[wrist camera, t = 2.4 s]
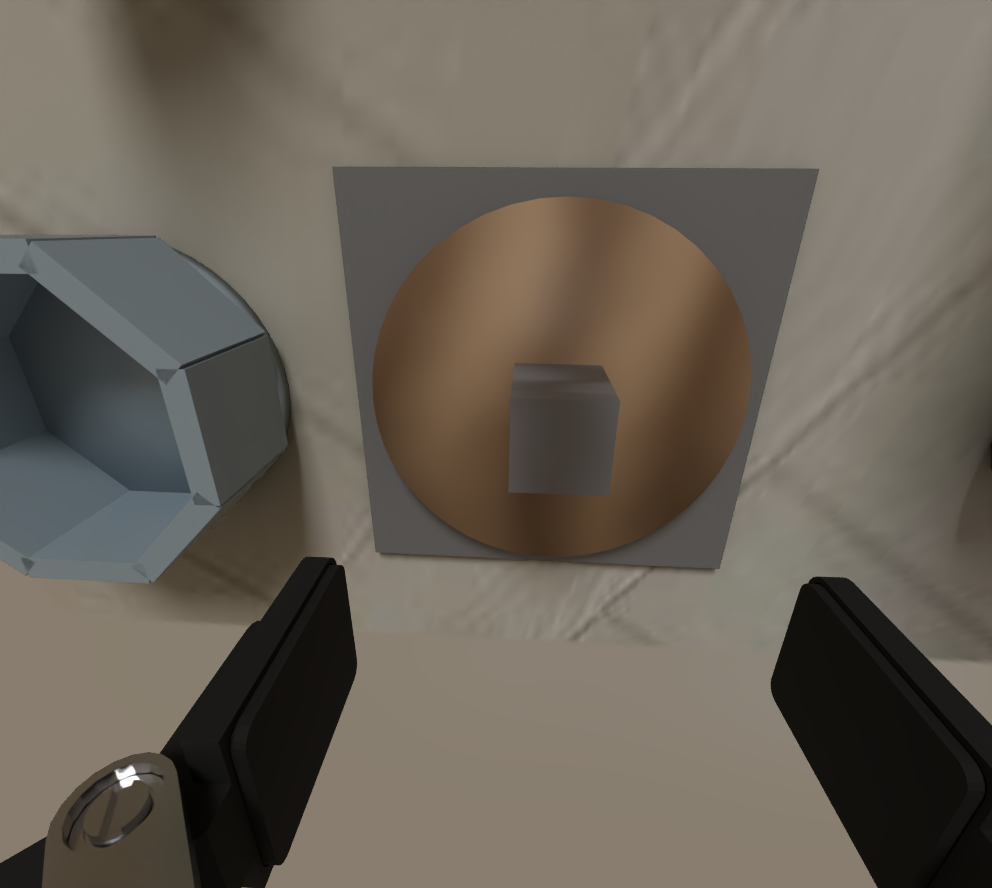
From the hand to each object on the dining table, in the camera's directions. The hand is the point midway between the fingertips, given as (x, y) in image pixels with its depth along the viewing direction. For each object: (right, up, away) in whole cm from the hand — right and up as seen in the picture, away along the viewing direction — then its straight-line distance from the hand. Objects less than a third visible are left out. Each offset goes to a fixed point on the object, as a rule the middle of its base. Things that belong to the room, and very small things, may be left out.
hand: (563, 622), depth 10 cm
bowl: (-18, +7, +13) cm, 23 cm away
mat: (+1, +6, +12) cm, 14 cm away
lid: (+1, +6, +12) cm, 13 cm away
